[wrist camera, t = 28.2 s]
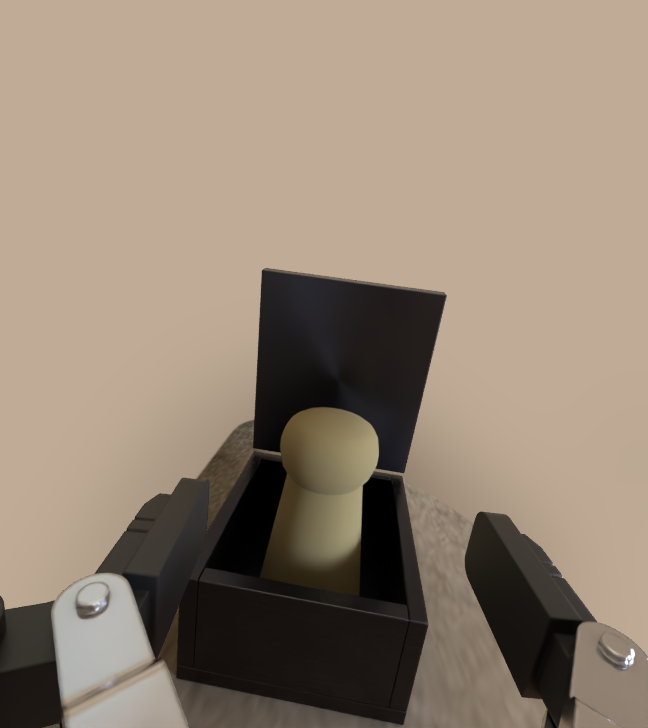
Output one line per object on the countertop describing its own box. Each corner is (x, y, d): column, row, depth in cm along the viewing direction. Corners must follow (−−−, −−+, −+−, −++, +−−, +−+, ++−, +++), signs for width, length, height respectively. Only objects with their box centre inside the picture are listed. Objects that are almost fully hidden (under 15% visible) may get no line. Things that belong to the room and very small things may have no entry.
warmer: (403, 725, 18) (428, 624, 16) (176, 678, 18) (179, 577, 17) (388, 545, 29) (402, 475, 27) (247, 520, 29) (253, 450, 28)
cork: (238, 611, 21) (254, 424, 18) (281, 539, 27) (299, 388, 24) (347, 653, 20) (383, 457, 17) (367, 567, 25) (398, 410, 22)
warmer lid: (447, 295, 22) (433, 278, 27) (261, 269, 23) (281, 258, 27) (404, 473, 27) (399, 432, 31) (252, 448, 27) (270, 411, 32)
